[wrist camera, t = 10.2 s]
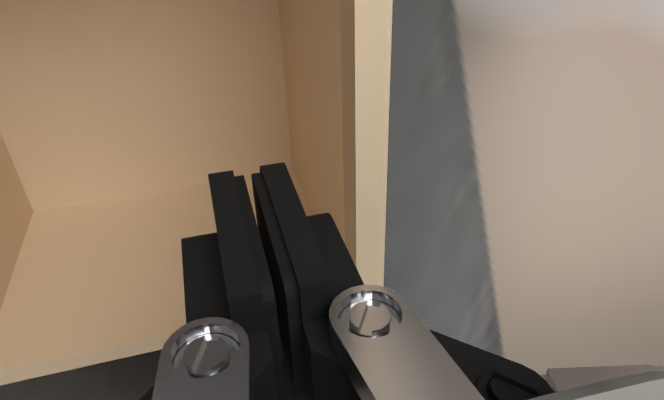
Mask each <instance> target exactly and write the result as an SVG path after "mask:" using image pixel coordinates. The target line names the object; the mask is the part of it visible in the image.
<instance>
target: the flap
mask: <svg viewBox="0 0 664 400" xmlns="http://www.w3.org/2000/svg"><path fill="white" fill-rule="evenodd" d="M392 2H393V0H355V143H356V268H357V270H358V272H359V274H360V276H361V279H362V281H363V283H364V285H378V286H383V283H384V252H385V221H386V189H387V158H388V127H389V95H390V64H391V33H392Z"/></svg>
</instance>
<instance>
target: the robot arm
mask: <svg viewBox="0 0 664 400" xmlns="http://www.w3.org/2000/svg"><path fill="white" fill-rule="evenodd" d="M251 178H252V186H253V194H254V202H255V210H256V218H257V223H256V219H255V215H254V212H253V208H252V204H251V200H250V197H249V193H248V189H247V185H246V182H245V178H244V175H241V176H234V173H233V170H230V171H224V172H217V173H211V174H208V179H209V185H210V191H211V198H212V204H213V211H214V217H215V223H216V230H217V232H215V233H210V234H204V235H198V236H193V237H187V238H182V239H181V248H182V264H183V280H184V296H185V313H186V324H185V325H183V326H182V327H180V328H179V329H178V330H176V331H175V332H174V333H172V334H171V336H170V337H169V338H168V339H167V341H166V342H165V343H164V346H163V348H162V351H161V353H160V358H159V363H158V369H157V374H156V379H155V385H154V386H153V387H152V388H151V389H150V390H149V391H148V392H147V393H146V394H145V395H144V396H143V397H142V398H141V399H140V400H287V395H286V386H285V377H284V369H283V360H282V351H281V346H282V350H283V354H284V358H285V362H286V366H287V370H288V374H289V378H290V382H291V386H292V390H293V394H294V398H295V400H664V367H661V366H651V365H632V366H631V365H630V366H603V367H575V368H548V370H547V373H546V375H539V374H537V373H536V372H535V371H533V370H531V369H529V368H527V367H525V366H523V365H521V364H519V363H516V362H513V361H511V360H508V359H505V358H503V357H500V356H497V355H495V354H492V353H490V352H487V351H484V350H482V349H479V348H476V347H474V346H471V345H469V344H466V343H463V342H461V341H458V340H455V339H453V338H450V337H448V336H445V335H442V334H440V333H437V332H434V331H432V330H429V329H428V327H427V326H426V325H425V324H424V322H423V321H422V320H421V319H420V317H419V316H418V315H417V314H416V312H415V311H414V310H413V309H412V307H411V306H410V305H409V304H408V302H407V301H406V300H405V299H404V298H403V297H402V296H401V295H400V294H399V293H397V292H395V291H393V290H391V289H389V288H387V287H383V286H378V285H364V283H363V281H362V279H361V276H360V274H359V272H358V270H357V268H356V266H355V264H354V262H353V260H352V258H351V256H350V253H349V251H348V249H347V247H346V245H345V243H344V241H343V239H342V237H341V235H340V232H339V230H338V228H337V226H336V224H335V222H334V220H333V218H332V216H331V214H330V213H322V214H317V215H311V216H306V213H305V211H304V209H303V206H302V204H301V201H300V199H299V196H298V194H297V191H296V189H295V186H294V184H293V182H292V179H291V177H290V174H289V172H288V169H287V167H286V164H285V163H284V162H282V163H275V164H269V165H262V166H260V173H253V174H251ZM257 226H258V227H257Z"/></svg>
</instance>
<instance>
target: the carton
mask: <svg viewBox="0 0 664 400" xmlns="http://www.w3.org/2000/svg"><path fill="white" fill-rule="evenodd" d="M282 162H284V163H285V164H286V167H287V169H288V172H289V174H290V177H291V179H292V182H293V184H294V186H295V189H296V191H297V194H298V196H299V199H300V201H301V204H302V206H303V209H304V211H305V213H306V216H311V215H317V214H322V213H330V214H331V216H332V218H333V220H334V222H335V224H336V226H337V228H338V230H339V232H340V235H341V237H342V239H343V241H344V243H345V245H346V247H347V249H348V251H349V253H350V256H351V258H352V260H353V262H354V264H355V266H356V143H355V0H0V385H4V384H9V383H13V382H18V381H22V380H27V379H31V378H36V377H40V376H45V375H49V374H54V373H58V372H63V371H67V370H72V369H76V368H81V367H85V366H89V365H94V364H98V363H103V362H107V361H112V360H116V359H121V358H125V357H130V356H134V355H139V354H143V353H148V352H152V351H157V350H161V349H162V348H163V346H164V343H165V342H166V341H167V339H168V338H169V337H170V336H171V334H172V333H174V332H175V331H176V330H178V329H179V328H180V327H182V326H183V325H185V324H186V313H185V296H184V280H183V264H182V248H181V239H182V238H187V237H193V236H198V235H204V234H210V233H215V232H217V230H216V223H215V217H214V211H213V204H212V198H211V191H210V185H209V179H208V174H211V173H217V172H224V171H230V170H233V173H234V176H241V175H244V178H245V182H246V185H247V189H248V193H249V197H250V200H251V204H252V208H253V212H254V215H255V219H256V223H257V218H256V210H255V202H254V194H253V186H252V178H251V174H253V173H260V166H262V165H269V164H275V163H282ZM257 227H258V226H257Z"/></svg>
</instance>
